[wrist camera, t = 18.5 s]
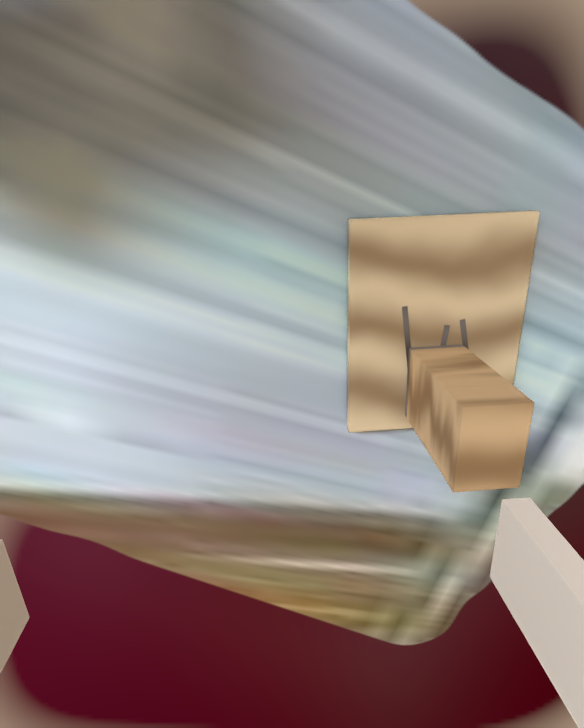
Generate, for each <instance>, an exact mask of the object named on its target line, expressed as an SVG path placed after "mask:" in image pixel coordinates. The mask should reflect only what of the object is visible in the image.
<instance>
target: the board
mask: <svg viewBox="0 0 584 728" xmlns="http://www.w3.org/2000/svg"><path fill="white" fill-rule="evenodd" d="M539 213H540V211H512V212H490V213H469V214H448V215H426V216H405V217H383V218H362V219H348V341H347V428H348V431H349V432H361V431H375V430H390V429H404V428H413V427H412V426H411V424H410V422H409V421H408V419H407V418H406V416H405V405H406V388H407V371H408V354H409V348H412V347H428V346H444V345H460V344H462V345H463V346H465V347H466V348H467V349H468V350H470V351H471V352H472V353H473V354H475V355H476V356H477V357H478V358H480V359H481V360H482V361H483V362H485V363H486V364H487V365H488V366H489V367H491V368H492V369H493V370H494V371H496V372H497V373H498V374H499V375H501V376H502V377H503V378H504V379H506V380H507V381H508V382H509V383H511V384H512V385H513V381H514V375H515V368H516V362H517V356H518V349H519V343H520V336H521V330H522V323H523V317H524V310H525V304H526V297H527V291H528V284H529V278H530V272H531V265H532V259H533V252H534V246H535V239H536V233H537V226H538V220H539Z"/></svg>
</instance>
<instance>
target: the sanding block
mask: <svg viewBox="0 0 584 728" xmlns="http://www.w3.org/2000/svg"><path fill="white" fill-rule="evenodd" d="M533 407H534V402H533V401H532V400H530V399H529V398H528V397H527V396H525V395H524V394H523V393H522V392H521V391H519V390H518V389H517V388H516V387H514V386H513V385H512V384H511V383H509V382H508V381H507V380H506V379H504V378H503V377H502V376H501V375H499V374H498V373H497V372H496V371H494V370H493V369H492V368H491V367H489V366H488V365H487V364H486V363H485V362H483V361H482V360H481V359H480V358H478V357H477V356H476V355H475V354H473V353H472V352H471V351H470V350H468V349H467V348H466V347H465V346H463V345H462V344H460V345H444V346H428V347H412V348H409V354H408V371H407V388H406V405H405V416H406V418H407V419H408V421H409V422H410V424H411V426H412V427H413V429H414V430H415V432H416V434H417V435H418V437H419V438H420V440H421V442H422V443H423V445H424V446H425V448H426V449H427V451H428V453H429V454H430V456H431V457H432V459H433V461H434V462H435V464H436V465H437V467H438V469H439V470H440V472H441V473H442V475H443V477H444V478H445V480H446V481H447V483H448V485H449V486H450V488H451V489H452V491H453V492H464V491H477V490H489V489H502V488H515V487H520V481H521V475H522V470H523V464H524V458H525V453H526V447H527V441H528V436H529V430H530V424H531V419H532V413H533Z"/></svg>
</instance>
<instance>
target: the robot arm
mask: <svg viewBox="0 0 584 728" xmlns="http://www.w3.org/2000/svg"><path fill="white" fill-rule="evenodd" d="M490 578H491V580H492V581H493V583H494V585H495V586H496V588H497V590H498V591H499V593H500V595H501V597H502V598H503V600H504V602H505V604H506V605H507V607H508V609H509V610H510V612H511V614H512V616H513V617H514V619H515V621H516V622H517V624H518V626H519V627H520V629H521V631H522V632H523V634H524V636H525V638H526V639H527V641H528V643H529V644H530V646H531V648H532V649H533V651H534V653H535V655H536V656H537V658H538V660H539V662H540V663H541V665H542V667H543V668H544V670H545V672H546V674H547V675H548V677H549V679H550V680H551V682H552V684H553V685H554V687H555V689H556V691H557V692H558V694H559V696H560V697H561V699H562V700H563V703H564V704H565V706H566V708H567V709H568V711H569V713H570V715H571V716H572V718H573V720H574V721H575V723H576V725H577V726H578V728H584V560H583V559H582V558H581V557H580V556H579V555H578V554H577V552H576V551H575V550H574V549H573V548H572V546H571V545H570V544H569V543H568V542H567V541H566V539H565V538H564V537H563V536H562V535H561V534H560V533H559V531H558V530H557V529H556V528H555V527H554V525H553V524H552V523H551V522H550V521H549V520H548V518H547V517H546V516H545V515H544V514H543V513H542V511H541V510H540V509H539V508H538V507H537V506H536V504H535V503H534V502H533V501H532V500H531V499H530V497H529V498H517V499H504V500H502V503H501V510H500V516H499V522H498V528H497V534H496V541H495V547H494V553H493V559H492V565H491V571H490ZM28 619H29V614H28V612H27V609H26V606H25V603H24V600H23V597H22V594H21V592H20V589H19V586H18V583H17V580H16V577H15V575H14V571H13V569H12V566H11V563H10V560H9V557H8V554H7V551H6V549H5V546H4V543H3V540H0V673H1V671H2V669H3V667H4V665H5V663H6V662H7V660H8V658H9V656H10V654H11V652H12V650H13V648H14V646H15V644H16V642H17V640H18V638H19V636H20V635H21V633H22V631H23V628H24V627H25V625H26V623H27V621H28Z"/></svg>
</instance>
